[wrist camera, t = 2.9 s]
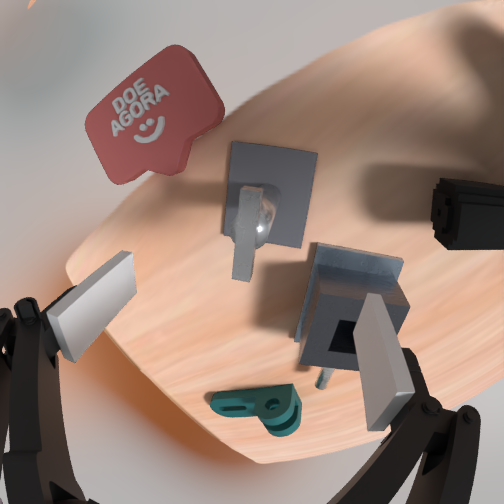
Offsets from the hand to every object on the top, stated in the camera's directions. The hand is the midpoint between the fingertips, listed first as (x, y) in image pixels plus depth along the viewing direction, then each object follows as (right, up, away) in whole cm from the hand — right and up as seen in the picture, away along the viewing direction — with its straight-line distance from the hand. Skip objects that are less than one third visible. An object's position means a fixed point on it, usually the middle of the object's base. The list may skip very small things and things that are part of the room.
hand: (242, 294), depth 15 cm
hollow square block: (+14, -8, +24) cm, 29 cm away
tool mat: (+3, +9, +19) cm, 21 cm away
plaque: (-12, +19, +18) cm, 29 cm away
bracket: (+1, -27, +36) cm, 45 cm away
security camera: (+30, +9, +14) cm, 35 cm away
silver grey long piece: (+2, +9, +18) cm, 21 cm away
